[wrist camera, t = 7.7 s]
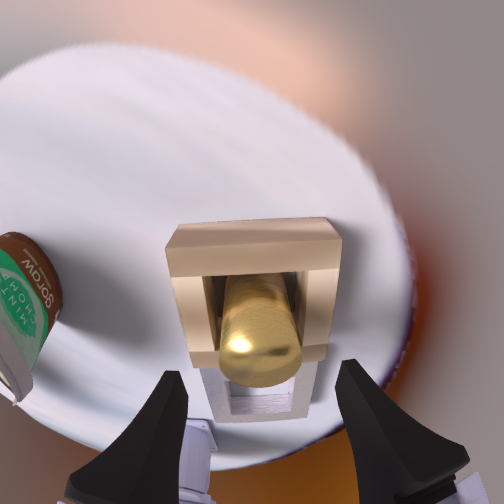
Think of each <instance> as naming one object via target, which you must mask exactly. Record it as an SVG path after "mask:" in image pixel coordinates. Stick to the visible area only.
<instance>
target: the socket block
mask: <svg viewBox="0 0 504 504" xmlns="http://www.w3.org/2000/svg"><path fill="white" fill-rule="evenodd" d="M317 366H318V361H316V362H308V363H302V364H301V367H300V368H299V370H298V371H297V373H296V374H295V375H294V376H293V377H291V378H290V380H289V391H288V394H278V395H264V396H245V397H231V392H230V386H229V381H230V380H229V379H228V378H226V377H225V376H224V374H223V373H222V372H221V370H220V368H199V369H200V373H201V376H202V380H203V383H204V387H205V390H206V393H207V397H208V400H209V403H210V407H211V410H212V413H213V416H214V419H215V422H216V423H244V422H265V421H278V420H289V419H298V418H306V417H307V414H308V410H309V406H310V401H311V396H312V392H313V387H314V382H315V377H316V372H317Z"/></svg>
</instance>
